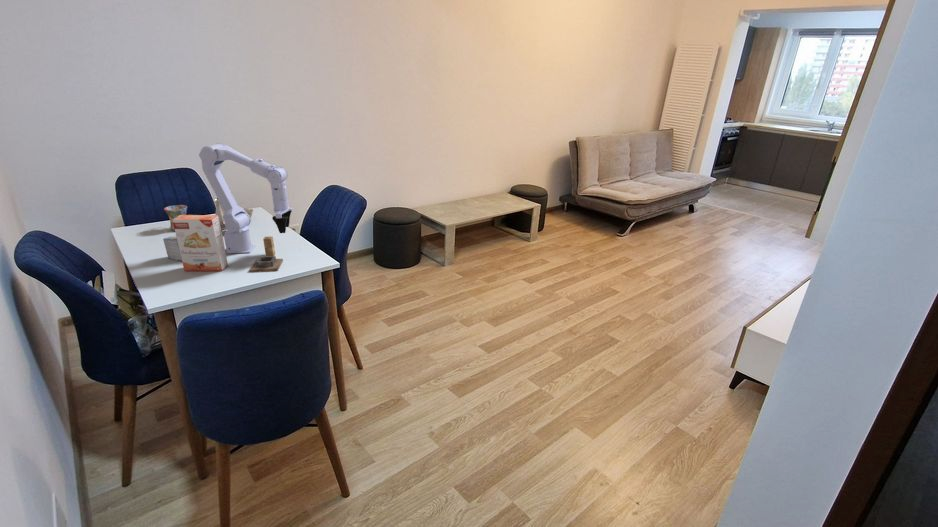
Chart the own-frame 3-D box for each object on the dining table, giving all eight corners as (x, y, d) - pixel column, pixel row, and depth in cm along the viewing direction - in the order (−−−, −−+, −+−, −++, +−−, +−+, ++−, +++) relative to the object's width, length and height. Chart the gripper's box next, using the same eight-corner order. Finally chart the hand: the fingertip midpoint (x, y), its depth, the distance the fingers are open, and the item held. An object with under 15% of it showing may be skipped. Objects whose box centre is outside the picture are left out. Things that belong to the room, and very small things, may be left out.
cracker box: (183, 271, 170) (170, 218, 162) (191, 265, 175) (179, 214, 167) (222, 271, 171) (211, 219, 163) (228, 265, 176) (218, 214, 168)
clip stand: (250, 271, 171) (248, 264, 170) (256, 261, 180) (255, 254, 179) (277, 270, 173) (276, 263, 172) (283, 260, 182) (282, 254, 181)
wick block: (266, 257, 185) (263, 239, 182) (267, 254, 188) (265, 236, 185) (273, 257, 185) (271, 239, 182) (275, 254, 188) (272, 236, 185)
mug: (194, 229, 214) (189, 208, 210) (172, 233, 208) (166, 211, 203) (187, 223, 221) (182, 202, 217) (165, 227, 215) (160, 206, 211)
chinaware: (245, 238, 210) (243, 203, 204) (205, 236, 205) (202, 201, 199) (255, 220, 235) (253, 189, 229) (219, 218, 230) (217, 186, 224)
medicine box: (192, 257, 183) (187, 237, 179) (182, 261, 179) (177, 241, 175) (177, 254, 185) (172, 235, 181) (167, 258, 181) (162, 238, 178)
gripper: (287, 202, 175) (291, 235, 181) (293, 193, 189) (297, 224, 194) (268, 202, 174) (272, 235, 180) (276, 193, 187) (280, 224, 193)
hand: (284, 229), depth 187 cm, fingers open, 7 cm apart
